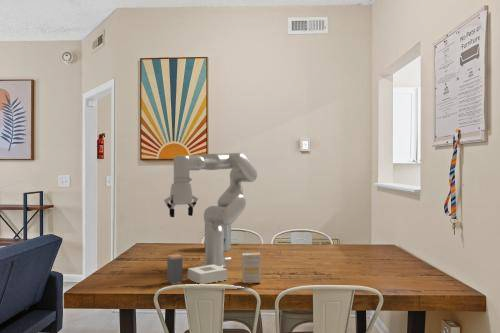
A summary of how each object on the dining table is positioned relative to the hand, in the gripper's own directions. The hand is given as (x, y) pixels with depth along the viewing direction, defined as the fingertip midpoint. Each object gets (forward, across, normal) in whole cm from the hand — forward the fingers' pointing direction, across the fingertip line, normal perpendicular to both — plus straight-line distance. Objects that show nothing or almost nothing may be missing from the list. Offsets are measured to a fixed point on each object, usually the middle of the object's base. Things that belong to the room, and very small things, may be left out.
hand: (181, 216), depth 195 cm
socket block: (+28, -6, +15) cm, 32 cm away
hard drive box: (+29, -47, -42) cm, 69 cm away
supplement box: (+28, -20, +30) cm, 46 cm away
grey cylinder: (+28, +8, +10) cm, 31 cm away
